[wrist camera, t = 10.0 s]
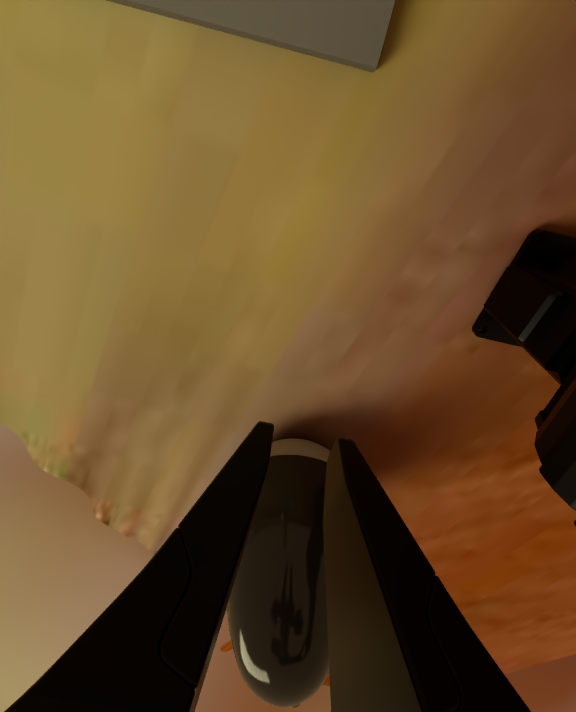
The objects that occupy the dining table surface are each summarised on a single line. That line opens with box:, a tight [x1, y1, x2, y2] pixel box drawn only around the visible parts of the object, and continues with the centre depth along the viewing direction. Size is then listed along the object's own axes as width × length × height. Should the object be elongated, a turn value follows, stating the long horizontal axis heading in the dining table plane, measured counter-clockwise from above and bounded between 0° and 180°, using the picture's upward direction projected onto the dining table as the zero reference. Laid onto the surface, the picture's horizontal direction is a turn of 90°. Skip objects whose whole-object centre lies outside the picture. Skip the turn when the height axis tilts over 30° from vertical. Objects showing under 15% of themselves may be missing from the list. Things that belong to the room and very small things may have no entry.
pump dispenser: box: [226, 438, 331, 708], centre depth 23 cm, size 10×10×15 cm
